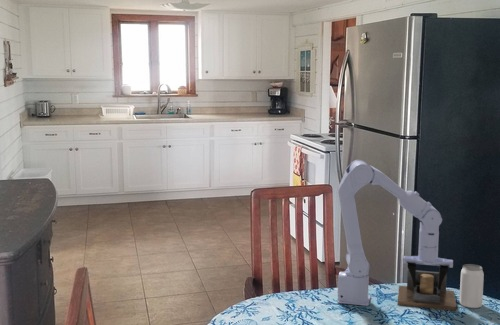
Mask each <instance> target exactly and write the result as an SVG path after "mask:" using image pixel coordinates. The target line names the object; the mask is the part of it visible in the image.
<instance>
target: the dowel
mask: <svg viewBox="0 0 500 325" xmlns="http://www.w3.org/2000/svg"><path fill="white" fill-rule="evenodd" d="M433 287H434V276H433V275H430V274H422V275H420V293H422V294H433Z"/></svg>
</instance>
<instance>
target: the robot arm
mask: <svg viewBox="0 0 500 325" xmlns="http://www.w3.org/2000/svg"><path fill="white" fill-rule="evenodd" d="M368 184H371V185H372V186H373V185H375V186H380V187H381V188H383V189H385V190H386V191H387V192H389V193H390V194H392V195H393V197H396V198H397V199H398V201H399V206H400V207H402V208H403V209H404V210H405V211H406V212H408V213H409V214H411V215H412V216H413V217H414V218H417V219H418V220H419V233H418V254H417V255H403V265H407V271H408V270H409V272H410V274H411V277H412V280H413V287H416V270H417V265H425V266H433V267H434V266H436V267H438V268H439V269H438V272H439V280H438V289H439V290H440V289H441V285H442V282H443V279H444V277H445V275H446V274H447V275H448V272H449V269H450V268H454V260H453V259H447V258H443V257H442V258H441V257H439V236H440V231H439V229H440V225H441V224H442V222H443V218H442V215H441V212H440V211H439V210H437V209H436V208H435V207H434V206H433V205H432V203H431V202H430V201H426V200H425V199H423V198H422V197H421V196H420V193H419V192H418V191H416V190H415V191H413V190H405V189H403V188H402V187H401V186H399V184H397V183H396V182H395V181H393V180H392V179H391V178H390V177H389V176H388V175H386V174H385V173H384V172H383V171H381V170H379V169H378V168H376V167H374V166H372V165H371V164H368V163H367V162H366V161H365V160H363V159H355V160H353V161H351V163H350V164H349V165H348V166H347V167H346V168H345V170H344V174H343V175H342V178H341V180H340V183H339V185H338V188H337V194H338V198H339V205H340V210H341V217H342V218H341V219H342V222H343V229H344V235H345V242H346V254H345V262H346V263H347V267H346V269H345V270H344V271H339V273H338V276H337V277H338V278H337V303H338V304H345V305H347V304H348V305H356V306H365V307H368V306H369V305H370V299H371V295H370V294H369V284H370V282H369V280H370V278H369V276H370V272H369V271H370V266H371V265H370V263H369V261H368V260H367V257H366V254H365V251H364V247H363V242H362V235H361V230H360V224H359V218H358V209H357V204H356V199H355V195H356V193H357V192H358V191H359V190H360V189H361V188H363V187H364V186H366V185H368Z"/></svg>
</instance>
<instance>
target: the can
mask: <svg viewBox="0 0 500 325" xmlns="http://www.w3.org/2000/svg"><path fill="white" fill-rule="evenodd" d="M484 275H485V274H484V271H483V267H482V266H481V265H479V264H473V263H468V264H467V263H466V264H463V265H462V269H461V271H460V280H459V281H460V284H459V286H460V287H459V304H460V305H461V306H463V307H464V308H468V309H480V308H482V306H483V297H484V296H483V295H484V277H485V276H484Z"/></svg>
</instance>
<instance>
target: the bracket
mask: <svg viewBox="0 0 500 325" xmlns="http://www.w3.org/2000/svg"><path fill="white" fill-rule="evenodd" d="M422 274H430V275H433V276H434V287H433V294H422V293H420V275H422ZM447 275H448V273H447V274H446V275H445V277H444V279H443V282H442V285H441V289H440V290H439V289H438V280H439V271H428V270H418V269H416V287H413V280H412V277H411V274H410V272H409V270H408V269H407V274H406V276H407V278H406V280H407V281H406V282H407V283H406V285H399V286H398V293H397V294H398V295H397V305H399V306H406V307H415V308H416V307H417V308H426V309H427V308H428V309H436V310H444V311H445V310H446V311H457V302H456V296H455V291H454V290H450V289H449V290H447V280H448V279H447V278H448V276H447Z"/></svg>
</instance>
